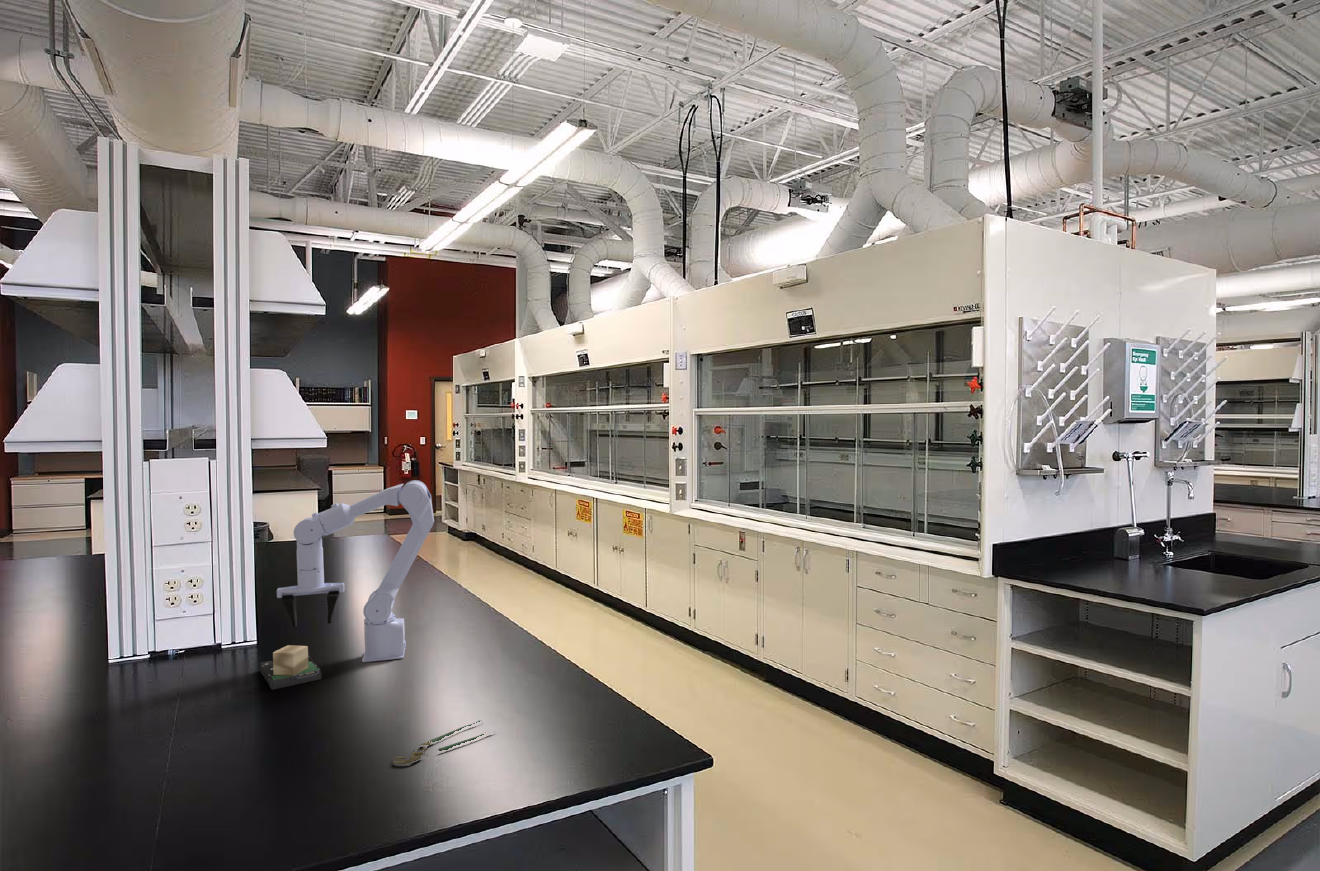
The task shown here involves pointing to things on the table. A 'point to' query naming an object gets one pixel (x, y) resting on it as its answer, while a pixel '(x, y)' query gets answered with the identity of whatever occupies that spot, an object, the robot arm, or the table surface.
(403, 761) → the pliers
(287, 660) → the maple cube
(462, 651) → the table surface
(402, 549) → the robot arm
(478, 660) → the table surface
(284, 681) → the disk drive
